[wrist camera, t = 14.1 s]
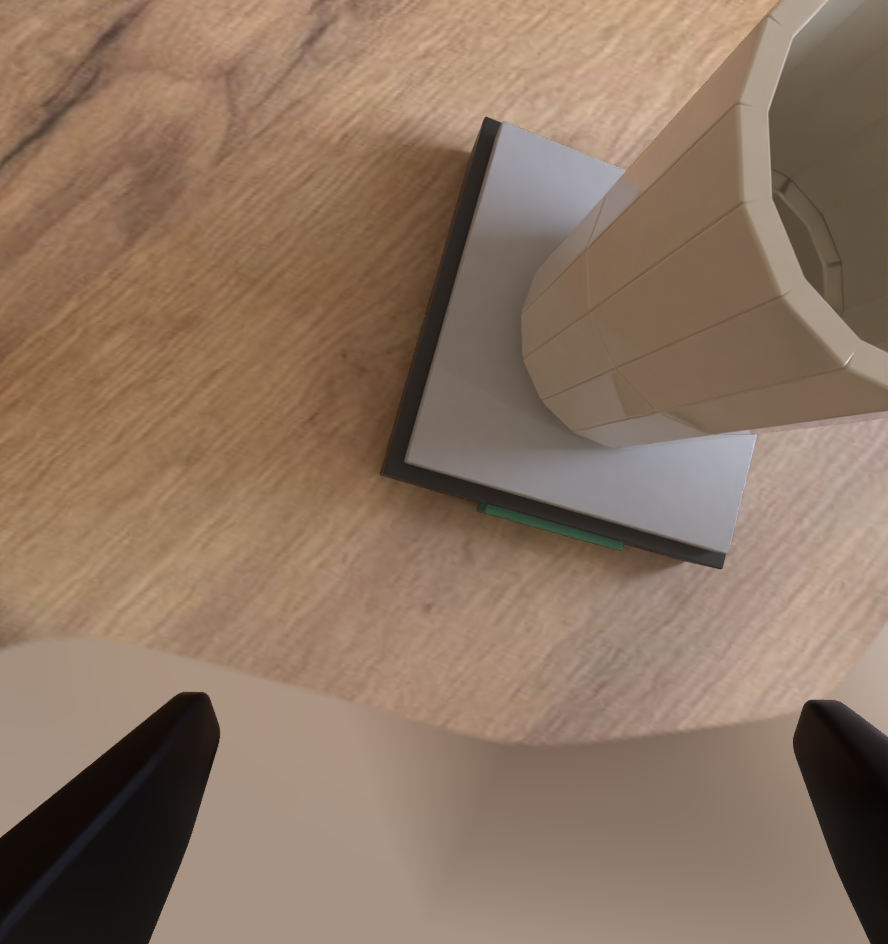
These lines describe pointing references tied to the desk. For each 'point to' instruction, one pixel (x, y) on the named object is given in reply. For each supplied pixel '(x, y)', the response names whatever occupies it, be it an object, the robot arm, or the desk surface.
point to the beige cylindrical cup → (735, 252)
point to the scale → (512, 390)
